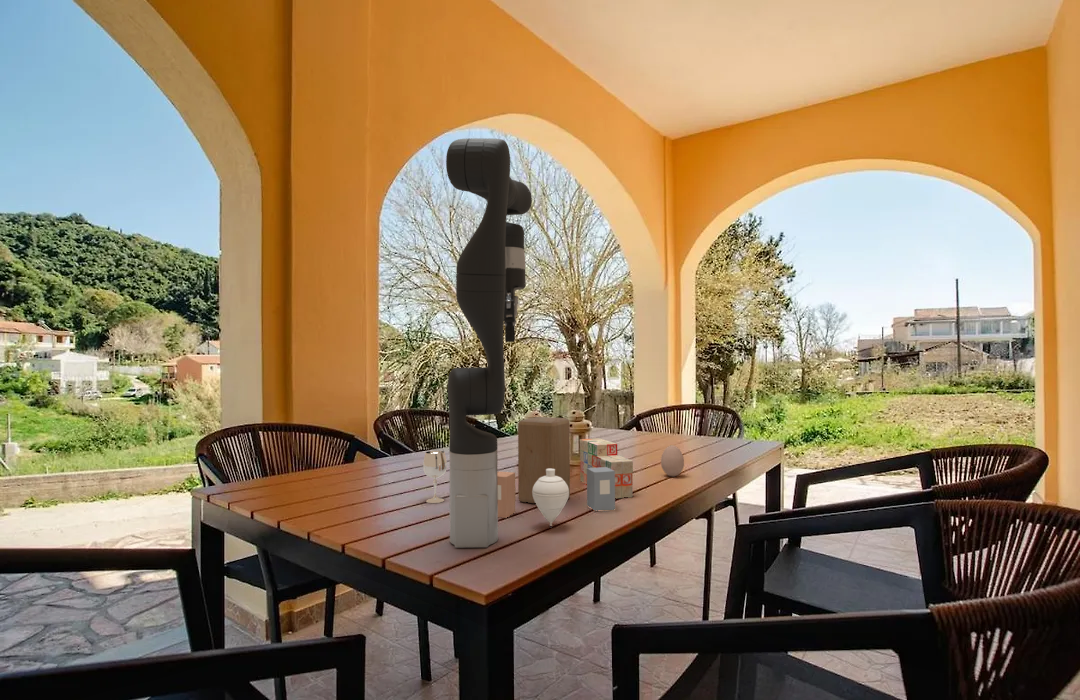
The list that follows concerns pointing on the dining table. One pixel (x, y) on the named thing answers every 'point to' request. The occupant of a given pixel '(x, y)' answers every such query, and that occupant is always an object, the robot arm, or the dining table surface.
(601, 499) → the slate painted block
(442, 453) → the wineglass
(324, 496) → the dining table surface
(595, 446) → the stack of blocks
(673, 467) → the egg
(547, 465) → the wooden block
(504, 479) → the terracotta painted block
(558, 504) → the spinning top
